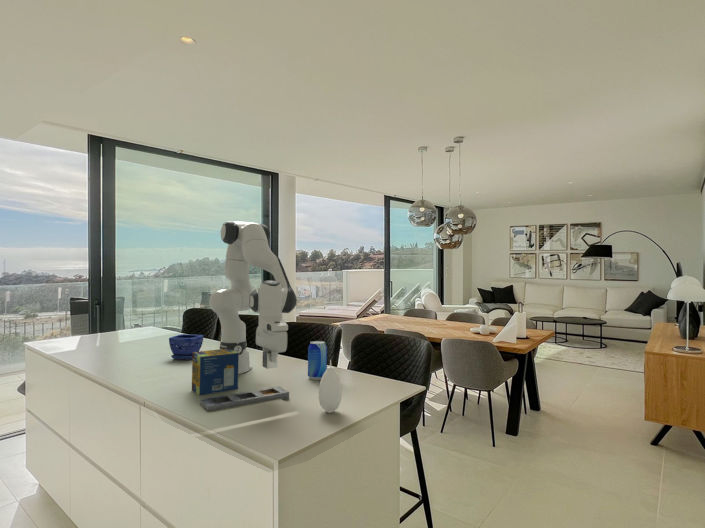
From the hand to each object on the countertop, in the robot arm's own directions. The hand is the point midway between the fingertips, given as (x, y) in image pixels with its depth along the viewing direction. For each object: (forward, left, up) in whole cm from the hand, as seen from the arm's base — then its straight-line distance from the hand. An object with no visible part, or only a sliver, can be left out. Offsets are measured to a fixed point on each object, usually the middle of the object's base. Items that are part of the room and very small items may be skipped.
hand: (270, 360), depth 154 cm
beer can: (-15, +30, -14) cm, 36 cm away
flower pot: (-88, -8, -14) cm, 90 cm away
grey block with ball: (0, 0, -2) cm, 2 cm away
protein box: (-20, -14, -14) cm, 28 cm away
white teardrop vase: (+25, +11, -14) cm, 31 cm away
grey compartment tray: (0, -9, -14) cm, 17 cm away
